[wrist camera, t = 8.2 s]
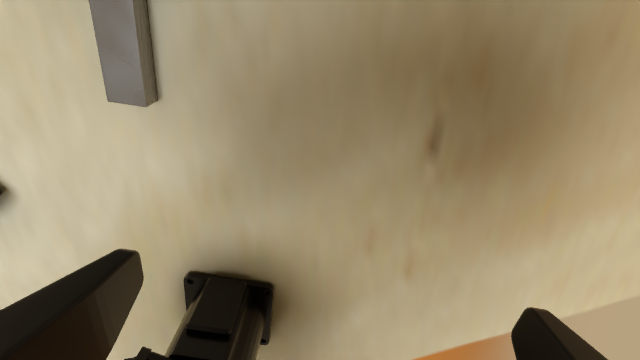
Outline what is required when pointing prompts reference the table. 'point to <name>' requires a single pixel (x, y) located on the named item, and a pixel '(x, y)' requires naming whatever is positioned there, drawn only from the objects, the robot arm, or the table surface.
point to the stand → (125, 50)
